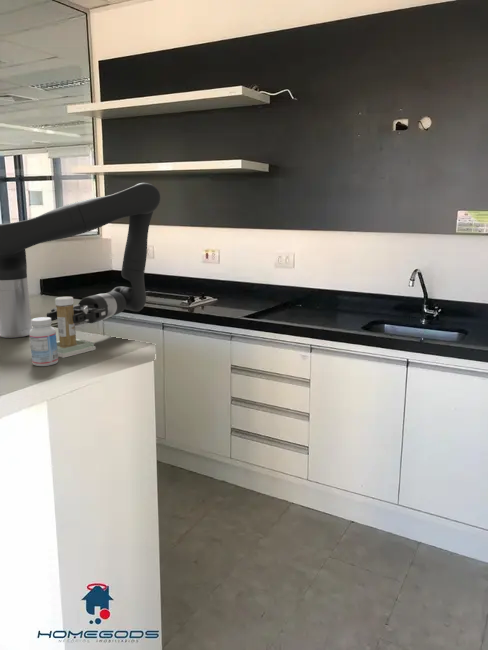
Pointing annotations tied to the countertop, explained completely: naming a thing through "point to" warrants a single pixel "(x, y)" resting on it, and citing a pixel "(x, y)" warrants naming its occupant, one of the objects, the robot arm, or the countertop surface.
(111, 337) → the countertop surface
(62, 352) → the socket plate
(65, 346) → the sprinkles bottle
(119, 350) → the countertop surface
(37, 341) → the pill bottle
